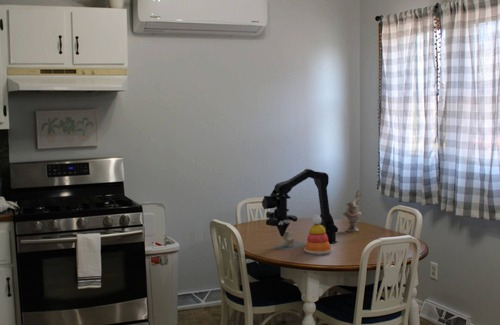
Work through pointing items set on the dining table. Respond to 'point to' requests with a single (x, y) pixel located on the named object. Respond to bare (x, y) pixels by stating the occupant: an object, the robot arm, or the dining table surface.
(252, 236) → the dining table surface
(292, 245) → the block
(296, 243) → the mat
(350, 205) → the decorative bust
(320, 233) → the stacking toy
